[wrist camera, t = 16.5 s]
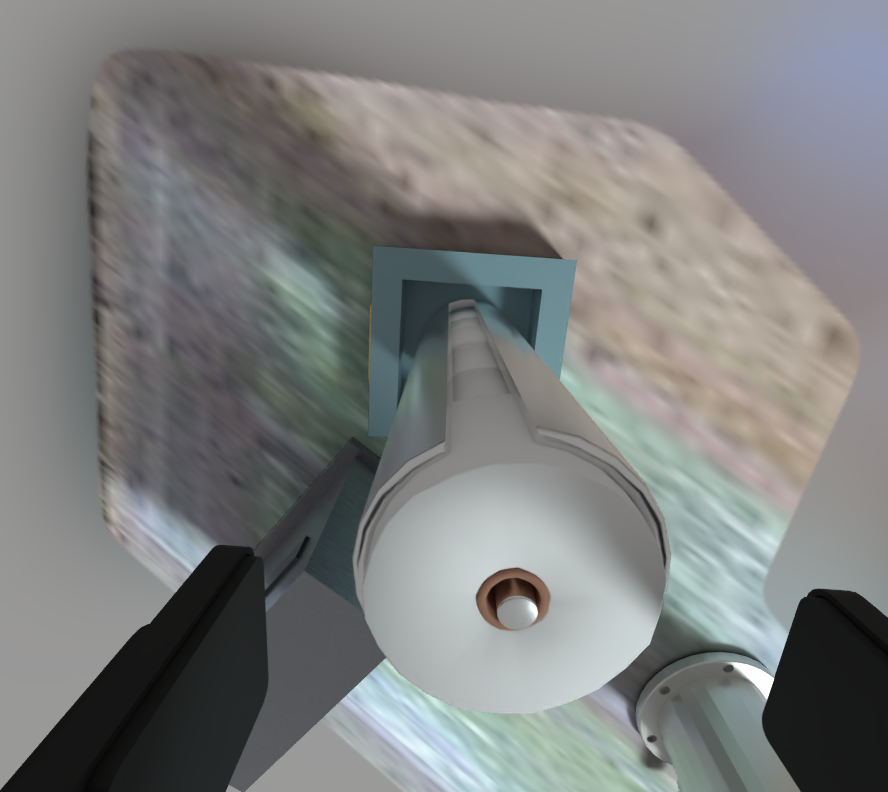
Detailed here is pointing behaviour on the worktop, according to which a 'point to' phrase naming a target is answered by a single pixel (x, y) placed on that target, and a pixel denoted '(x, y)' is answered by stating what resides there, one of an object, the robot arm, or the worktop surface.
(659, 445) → the worktop surface
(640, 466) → the worktop surface
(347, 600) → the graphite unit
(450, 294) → the socket block
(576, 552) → the white tall cylinder
